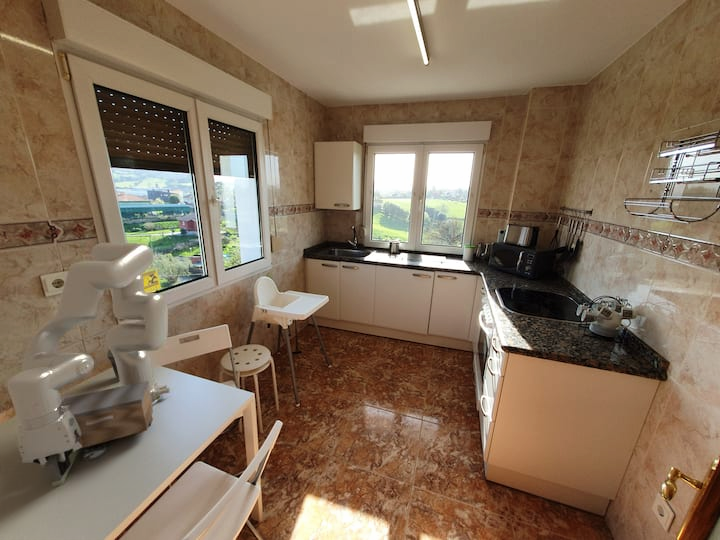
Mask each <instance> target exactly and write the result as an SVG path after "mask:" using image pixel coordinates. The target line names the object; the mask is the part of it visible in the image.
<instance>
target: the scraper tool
mask: <svg viewBox="0 0 720 540" xmlns="http://www.w3.org/2000/svg"><path fill="white" fill-rule="evenodd" d="M79 450H80V449H78V450H76V451H73V452H72V453H71V454H70V455H69V459H70V463H71V464H70V467H69V468H68V469H67V470H66V472H65V474H63V475H61V473H60V469H59V466H58V463H59V458H58V454H54V455H50V456H49V458H48V460H47V462H46V463H45V465H44V467H43V468H44V469H45V472H46V474H47V475H48V477H49V479H50V481H51V485H52V486H53V488H55V487H58V486H60V485H64V483H65V481H66V479H67V477H68V475H69V472H70V470H71V468H72V466H73V464H74V462H75V459H76V457H77V455H78V453H79Z"/></svg>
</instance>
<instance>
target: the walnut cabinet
mask: <svg viewBox="0 0 720 540" xmlns="http://www.w3.org/2000/svg"><path fill="white" fill-rule="evenodd" d="M148 385H149V381H145V382H140V383H136V384H131V385H126V386H121V385H120V386H118V387H116V386H115V387H112V388H107V389H103V390H102V389H101V390H99V391H92V392H89V393H84V394H83V393H82V394H78V395H74V396H70V397H69V396H68V397H65V398H64V399H63V400H62V402H64V405H71V409H70V411H71V413H72V414H73V415H74V417H75V419H76V421H77V423H78V425H79V428H80V430H81V437H80V439H81V440H82V441H83V442H84V444H83V446H82V447H81V448H79V450H80V449H84V448H88V447H89V446H91V445H95V444H98V443H102V442H104V443H106V442H109V441H112V440H116V439H120V438H124V437H129V436H130V435H134V434H138V433H142V432H146V431H148V428H149V427H150V426H152V422H153V419H154V417H153V413H154V409H153V406H152V403H151V398H150V393H149V387H148Z"/></svg>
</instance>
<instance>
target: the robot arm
mask: <svg viewBox="0 0 720 540" xmlns="http://www.w3.org/2000/svg"><path fill="white" fill-rule="evenodd" d="M90 253H91V258H92V260H87V261H86V260H84V261H79V262H75V263H73V264H72V265H71V266H70V267H69V268H68V271H67V274H66V278H65V280H64V281H65V282H64V285H63V288H62V291H61V296H60V299H59V303H58V307H57V311H56V313H55V314H54V316H53V317H51V318H50V319H49V320H48V321H47V322H46V323H44V324H43V325H42V326H41V327H40V328H39V329H38V330H37V331H36V333H35V334H33V336H32V337H31V339H30V340H29V342H28V344H27V346H26V348H25V349H26V350H25V352H24V356H23V361H22V365H21V372H18V373H16V374H14V375H13V376H12V377H11V378H10V379H8V382H7V383H6V384H7V385H6V386H7V390H8V394H9V396H10V399H11V402H12V404H13V407H14V411H15V414H16V416H17V419H18V423H19V426H18V428H17V445H18V449H19V450H18V451H19V454H20V457H21V458H22V459H21V463H22V464H27V463H34V464H38V465H40V466H41V467H42V468H44V465H45V463H46V462H47V460H48V458H49V456H50V455H54V454H58V458H59V463H58V466H59V469H60V473H61V475H63V474H65V472H66V470H67V469H68V468H69V467H70V464H71V463H70V459H69V455H70V454H71V453H72V452H73V451H76V450H78V449H79V448H80V449H82V448H81V447H82V446H83V444H84V442H83V441H82V440H81V439H80V437H81V430H80V428H79V425H78V423H77V421H76V419H75V417H74V415H73V414H72V413H71V411H70V409H71V405H64V402H63V399H62V395H61V393H60V390H61V389H63V388H65V387H67V386H70V385H72V384H74V383H76V382H78V381H81V380H82V379H85V377H87V376H88V375H89V374H90V373H91V371H92V370H93V368H94V367H95V360H94V358H93V357H92V355H89V354H86V353H83V352H57V348H58V346H59V343H60V341H61V340H62V338H63V337H64V336H65V334H67V333H68V332H69V331H71V330H72V329H74V328H76V327H78V326H80V325H83V324H85V323H87V322H90V321H92V320H94V319H96V318H98V316H99V314H100V313H99V312H100V308H101V305H102V304H101V303H102V300H103V296H104V292H105V290H111V291H112V313H113V315H114V317H115V318H117V319H120V320H127V321H128V320H131V321H144V322H124V323H123V322H122V323H118V324H116V325H114V326H113V327H111V328H110V329H109V330H108V332H107V335H106V344H107V347H108V350H109V349H110V350H111V352H112V354H113V356H114V359H115V362H116V366H117V371H118V375H119V380H120V381H119V383H120V387H121V386H126V385H131V384H136V383H140V382H145V381H149V385H148V387H149V393H150V398H151V403H152V407H153V406H155V404H158V402H159V401H160V399H162V395H165V394H169V393H170V391H171V389H170V387H168V385H162V386H159V384H158V382H156V383H155V377H154V372H153V371H154V370H153V365H152V362H151V361H152V360H151V355H150V353H149V352H154V351H155V352H156V351H159V350H160V349H162V348H163V347H164V346H165V345H166V342H167V340H168V333H169V331H168V330H169V328H168V327H169V324H168V323H169V307H168V305H169V304H168V301H167V300H166V297H165V296H164V295H162V294H160V293H156V292H146V291H145V280H144V276H143V273H144V272H145V271H146V270H147V269H148V268H150V266H151V265H152V264H153V260H154V252H153V249H152V248H151V247H150V246H149V245H147V244H143V243H137V242H136V243H135V242H103V243H97V244H96V245H93V247H92V248H91V250H90ZM80 449H79V450H80Z"/></svg>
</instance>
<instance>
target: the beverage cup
mask: <svg viewBox="0 0 720 540" xmlns="http://www.w3.org/2000/svg"><path fill="white" fill-rule="evenodd" d="M107 358H108V360H109V362H110V365H111V367H112V369H113V372H114V375H115V377H116V380H117V381H119V382H120V380H119V375H118V371H117V366H116V362H115V359H114V356H113V354H112V352H111V350H110V349H109V348H108V350H107Z"/></svg>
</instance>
